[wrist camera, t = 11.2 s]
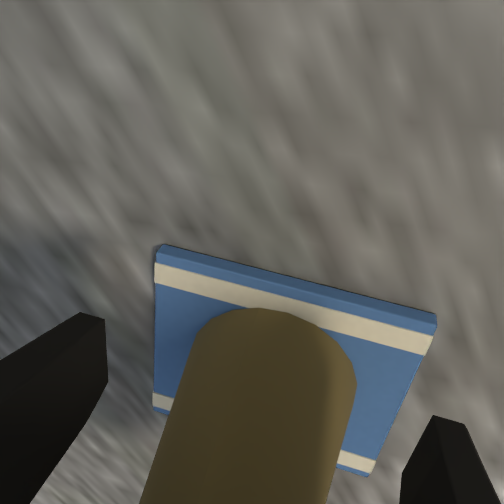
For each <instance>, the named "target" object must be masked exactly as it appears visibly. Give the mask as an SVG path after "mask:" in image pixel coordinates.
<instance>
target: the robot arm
mask: <svg viewBox="0 0 504 504" xmlns="http://www.w3.org/2000/svg"><path fill="white" fill-rule="evenodd" d="M107 383H108V367H107V350H106V333H105V319H102V318H99V317H95V316H92V315H89V314H85V313H82V312H79V313H78V314H76V315H74V316H73V317H71V318H69V319H67V320H66V321H64V322H62V323H61V324H59V325H57V326H56V327H54V328H53V329H51V330H49V331H48V332H46V333H44V334H43V335H41V336H40V337H38V338H36V339H35V340H33V341H31V342H30V343H28V344H26V345H25V346H23V347H21V348H20V349H18V350H17V351H15V352H13V353H11V354H10V355H8V356H6V357H5V358H3V359H1V360H0V504H30V502H31V501H32V499H33V498H34V497H35V495H36V494H37V492H38V491H39V490H40V488H41V487H42V485H43V484H44V482H45V481H46V480H47V478H48V477H49V475H50V474H51V473H52V471H53V470H54V468H55V467H56V465H57V464H58V463H59V461H60V460H61V458H62V457H63V455H64V454H65V453H66V451H67V450H68V448H69V447H70V445H71V444H72V443H73V441H74V440H75V438H76V437H77V435H78V434H79V432H80V431H81V430H82V428H83V427H84V425H85V424H86V422H87V420H88V419H89V417H90V415H91V413H92V411H93V410H94V408H95V406H96V404H97V402H98V400H99V398H100V397H101V395H102V393H103V391H104V389H105V387H106V385H107ZM399 504H501V503H500V500H499V498H498V496H497V494H496V492H495V490H494V488H493V485H492V483H491V481H490V479H489V477H488V475H487V472H486V470H485V468H484V466H483V464H482V461H481V459H480V457H479V455H478V452H477V450H476V448H475V446H474V443H473V441H472V439H471V437H470V434H469V432H468V430H467V428H466V426H465V425H464V424H462V423H459V422H455V421H452V420H448V419H445V418H442V417H438V416H435V415H433V416H432V418H431V419H430V421H429V423H428V425H427V427H426V429H425V431H424V433H423V434H422V436H421V438H420V440H419V442H418V444H417V446H416V448H415V450H414V451H413V453H412V455H411V457H410V459H409V461H408V463H407V465H406V466H405V468H404V470H403V472H402V478H401V490H400V502H399Z"/></svg>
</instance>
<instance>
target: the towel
mask: <svg viewBox="0 0 504 504" xmlns="http://www.w3.org/2000/svg"><path fill="white" fill-rule="evenodd" d="M154 282H155V283H156V294H155V351H154V392H153V403H152V405H153V406H154V409H153V410H154V411H157V412H161V413H164V414H167V415H169V413H170V410H171V407H172V404H173V401H174V398H175V395H176V392H177V389H178V386H179V383H180V380H181V377H182V374H183V371H184V368H185V365H186V362H187V359H188V356H189V353H190V350H191V347H192V345H193V342H194V339H195V337H196V334H197V332H198V331H199V330H200V329H201V328H202V327H203V326H204V325H205V324H206V323H207V322H208V321H209V320H210V319H212V318H214V317H217V316H219V315H221V314H224V313H226V312H229V311H231V310H236V309H248V308H265V309H270V310H276V311H282V312H287V313H290V314H292V315H295V316H297V317H299V318H301V319H304V320H306V321H308V322H310V323H313V324H315V325H316V326H318V327H319V328H320V329H321V330H323V331H324V332H325V333H326V334H328V335H329V336H330V337H332V338H333V339H334V340H335V341H337V342H338V344H339V345H340V346H341V348H342V349H343V351H344V352H345V354H346V355H347V356H348V358H349V359H350V361H351V362H352V365H353V369H354V373H355V376H356V380H357V389H356V394H355V399H354V404H353V408H352V411H351V415H350V418H349V422H348V425H347V429H346V432H345V436H344V440H343V443H342V447H341V450H340V454H339V457H338V461H337V464H336V468H339V469H342V470H345V471H348V472H352V473H355V474H358V475H361V476H364V477H368V476H369V474H371V472H372V470H373V467H374V465H375V463H376V459H377V456H378V454H379V452H380V450H381V448H382V446H383V443H384V441H385V439H386V437H387V435H388V433H389V430H390V428H391V426H392V424H393V422H394V419H395V417H396V415H397V413H398V411H399V409H400V406H401V404H402V402H403V400H404V398H405V396H406V393H407V391H408V389H409V387H410V385H411V382H412V380H413V378H414V376H415V374H416V372H417V369H418V367H419V365H420V363H421V361H422V359H423V356H425V355H426V353H427V351H428V348H429V346H430V344H431V342H432V340H433V338H434V336H433V335H434V332H435V330H436V328H437V319H436V315H435V314H432V313H428V312H424V311H421V310H417V309H413V308H409V307H405V306H401V305H397V304H394V303H390V302H386V301H382V300H378V299H374V298H370V297H366V296H363V295H359V294H355V293H351V292H347V291H343V290H339V289H335V288H332V287H328V286H324V285H320V284H316V283H312V282H308V281H304V280H301V279H297V278H293V277H289V276H285V275H281V274H277V273H273V272H270V271H266V270H262V269H258V268H254V267H250V266H246V265H243V264H239V263H235V262H231V261H227V260H223V259H219V258H215V257H212V256H208V255H204V254H200V253H196V252H192V251H188V250H184V249H181V248H177V247H173V246H169V245H165V244H163V245H162V246H161V247H160V249H159V250H158V251H157V252H156V262H155V273H154Z"/></svg>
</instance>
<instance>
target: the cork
mask: <svg viewBox="0 0 504 504" xmlns="http://www.w3.org/2000/svg"><path fill="white" fill-rule="evenodd" d="M356 389H357V380H356V376H355V373H354V369H353V365H352V362H351V361H350V359H349V358H348V356H347V355H346V354H345V352H344V351H343V349H342V348H341V346H340V345H339V344H338V342H337V341H335V340H334V339H333V338H332V337H330V336H329V335H328V334H326V333H325V332H324V331H323V330H321V329H320V328H319V327H318V326H316V325H315V324H313V323H310V322H308V321H306V320H304V319H301V318H299V317H297V316H295V315H292V314H290V313H287V312H282V311H276V310H270V309H265V308H248V309H236V310H231V311H229V312H226V313H224V314H221V315H219V316H217V317H214V318H212V319H210V320H209V321H208V322H207V323H206V324H205V325H204V326H203V327H202V328H201V329H200V330H199V331H198V332H197V334H196V337H195V339H194V342H193V345H192V347H191V350H190V353H189V356H188V359H187V362H186V365H185V368H184V371H183V374H182V377H181V380H180V383H179V386H178V389H177V392H176V395H175V398H174V401H173V404H172V407H171V410H170V413H169V416H168V419H167V422H166V425H165V428H164V431H163V434H162V437H161V440H160V443H159V446H158V449H157V452H156V455H155V458H154V461H153V464H152V467H151V470H150V473H149V476H148V479H147V482H146V485H145V488H144V491H143V494H142V497H141V500H140V503H139V504H325V503H326V500H327V496H328V493H329V489H330V486H331V482H332V478H333V475H334V471H335V468H336V464H337V461H338V457H339V454H340V450H341V447H342V443H343V440H344V436H345V432H346V429H347V425H348V422H349V418H350V415H351V411H352V408H353V404H354V399H355V394H356Z"/></svg>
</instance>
